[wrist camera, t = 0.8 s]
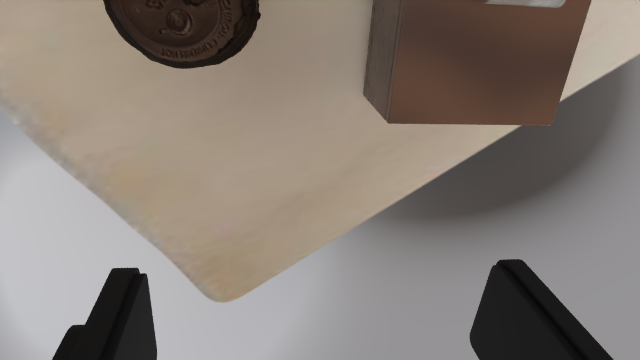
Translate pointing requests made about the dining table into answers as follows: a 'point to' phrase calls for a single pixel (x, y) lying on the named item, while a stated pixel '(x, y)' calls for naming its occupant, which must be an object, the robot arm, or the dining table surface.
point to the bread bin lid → (482, 60)
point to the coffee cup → (185, 28)
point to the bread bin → (381, 53)
